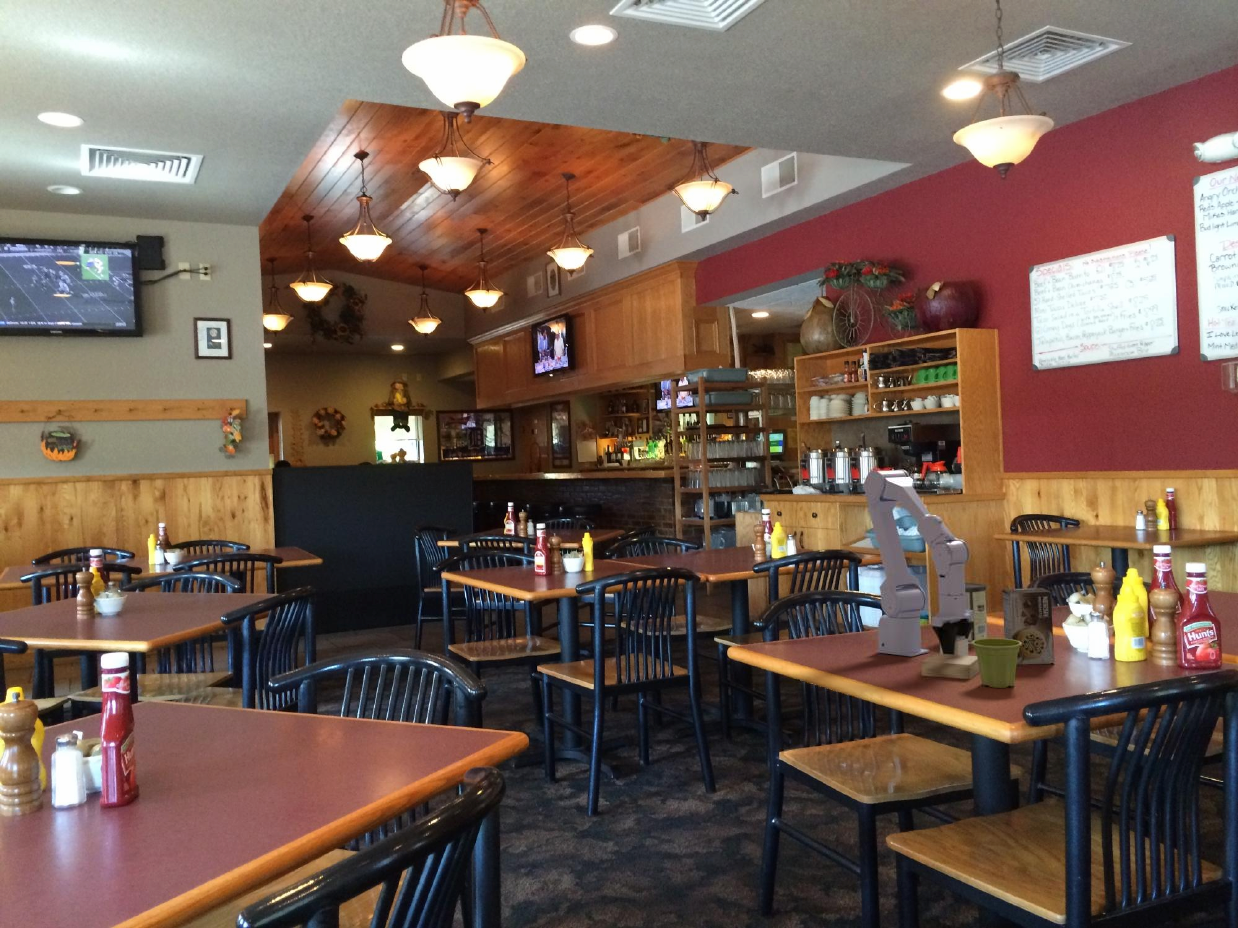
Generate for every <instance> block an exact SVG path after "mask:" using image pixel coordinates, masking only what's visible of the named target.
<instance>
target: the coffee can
mask: <svg viewBox="0 0 1238 928" xmlns="http://www.w3.org/2000/svg"><path fill="white" fill-rule="evenodd" d="M986 588H987V586H986V584H982V583H974V582H972V583H971V582H965V599H966V610H973V619H967V620H968V621H974V626H973V628H972V629H971V631H970V634H969V637H968V645H972V641H974V640H977V639H987V638H989V637H988V619H987V616H988V615H987V594H986V590H987V589H986Z"/></svg>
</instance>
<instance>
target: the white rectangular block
mask: <svg viewBox="0 0 1238 928" xmlns="http://www.w3.org/2000/svg"><path fill="white" fill-rule="evenodd" d="M939 648H940V649H939V654H943V652H942V648H941V645H940V644H939ZM954 655H966V656H969V644H968V639H966V638H965V636H959V635H956V638H955V650H954Z"/></svg>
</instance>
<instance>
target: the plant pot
mask: <svg viewBox="0 0 1238 928" xmlns="http://www.w3.org/2000/svg"><path fill="white" fill-rule="evenodd" d="M971 645H972V646H973V648H974V652H975V654H976V656H977V659H978V664H979V670H980V672H979V675H980V679H981V680H980V681H981V684H982V685H983V686H985V687H986V686H988V687H990V688H993V689H994V688H995V689H996V688H998V689H1005V688H1008V687H1014V686H1015V683H1016V682H1015V681H1016V670H1017V665H1016V663H1017V655H1018V652H1019V648H1020V646H1021V645H1022V643H1021V642H1020V641H1017V640H1011V639H1005V638H994V637H992V638H989V637H988V638H987V639H977V640H974V641H972V644H971Z"/></svg>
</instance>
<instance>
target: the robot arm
mask: <svg viewBox="0 0 1238 928" xmlns="http://www.w3.org/2000/svg"><path fill="white" fill-rule="evenodd" d="M863 490H864V493H865V497H866V500H867V505H868V506H867V507H868V513H869V517H870V521H871V525H872V528H873V531H874V532H873V533H874V535H875V539H876V543H877V547H878V551H879V554H880V558H881V562H882V566H883V570H884V573H885V577H886V578H885V580H884V581H883V582H882V583H881V585H880V586H879V591H880V606H881V608H882V610H883V612H884V613H885V614H883V615H882V616H880V617H879V620H878V622H877V623H878V624H877V626H878V627H877V634H878V635H877V636H878V637H877V638H878V639H877V640H878V649H877V650H876V652H877V653H881V654H888V655H897V656H904V657H914V656H918V655H922V654H926V653H929V652H930V650H929V649H924V648H922V637H921V636H922V635H921V616H922V615H923V612H924V611H925V609H926V608H927V605H928V604H927V603H928V601H927V595H926V592H925V591H924V589H923V588H922V586H921V583H920V580H919V579H918V578H916V576H914V575H912V573H910V571H909V568H908V564H907V560H906V557H905V552H904V549H903V544H902V542H901V539H900V538H901V537H900V534H899V530H898V527H897V523H896V519H895V517H894V516H895V515H894V509H895V507H896V506H898V505H899V504H901V505H902V507H904V509H905V510H906V512H908V514H910V516H911V517H912V518H913V519H914V520H915V521H916V523H917V526H916V530H917V532H918V534H919V535H920V536H921V538H922V539H923V540H924V542H925V544H926V545H928V547H929V548H930V550H931V551H932V552H931V553H930V558H931V560H932V563H933V564H934V566H935V572H936V574H937V583H938V584H937V585H938V588H937V589H938V607H939V608H938V610H939V611H938V613H937V614H936V615H935V616H932V617H931V628H932V630H933V631H934V634H935V635H936V637H937V638H938V642H939V646H940V645H941V648H942V652H943V654H951V655H954V650H955V638H956V635H959V636H965V638H966V639H968V637H969V634H970V631H971V629H972V628H973V626H974V621H968V620H967V619H973V610H966V599H965V583H966V582H965V581H966V578H965V577H966V576H965V564H967V563H968V561H969V560H970V549H969V546H968V545H967V543H966V541H964V540H963V539H958V538H957V537H956V536H954V535H953V534H952V533H951V531H950V530H949V529H948V527H947V526H946V525H945V523H944V521H943V519H942V518H941V517H939V515H935V514H934V515H933V514H931V513H930V512H929V510H928V509H927V507H926V505H925V504H924V502H923V500H922V499H921V498H920V495H918V493H917V491H916V490H915V488H914V479H913V478H912V477H911V476H910V474H909V473H908V471H906V470H904V469H902V468H901V469H897V470H895V469H894V470H893V469H892V470H875V469H874V470H871V471H869V472H868V473H867V474H866V478H865V479H864V482H863Z"/></svg>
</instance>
